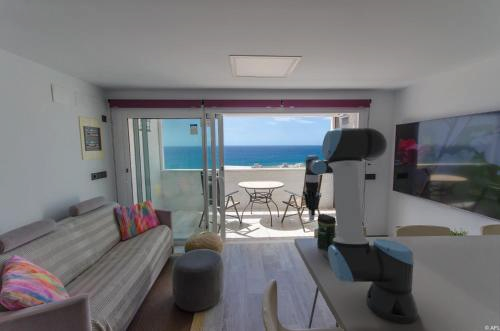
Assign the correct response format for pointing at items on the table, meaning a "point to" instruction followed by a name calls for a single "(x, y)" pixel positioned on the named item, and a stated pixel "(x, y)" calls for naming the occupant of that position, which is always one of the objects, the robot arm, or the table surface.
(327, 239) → the coffee jar
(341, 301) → the table surface
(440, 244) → the table surface
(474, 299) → the table surface
